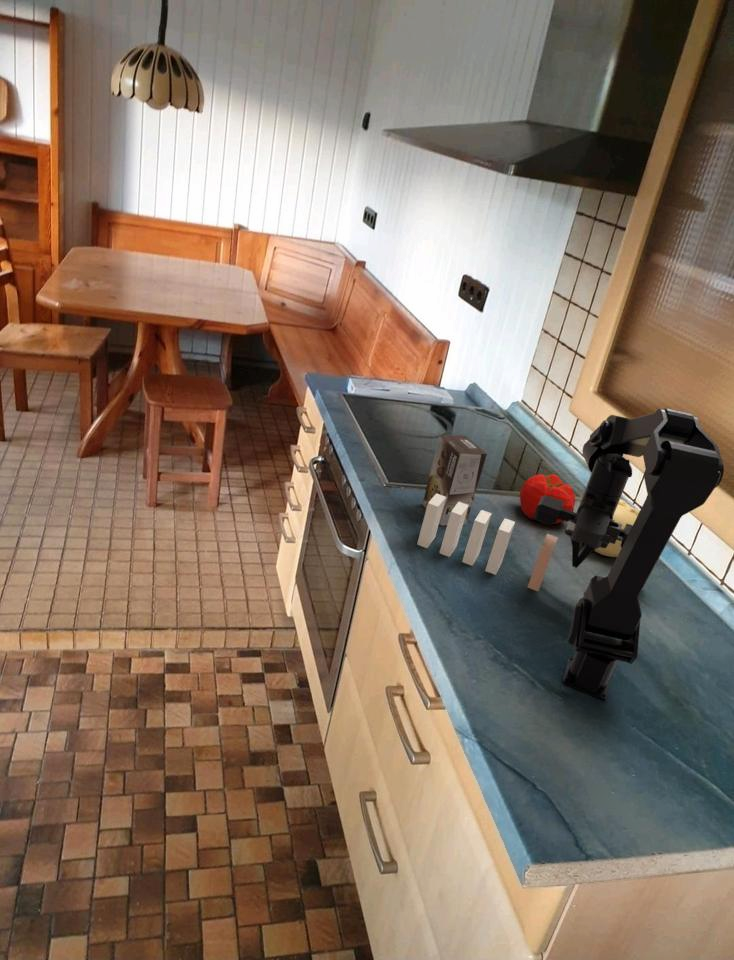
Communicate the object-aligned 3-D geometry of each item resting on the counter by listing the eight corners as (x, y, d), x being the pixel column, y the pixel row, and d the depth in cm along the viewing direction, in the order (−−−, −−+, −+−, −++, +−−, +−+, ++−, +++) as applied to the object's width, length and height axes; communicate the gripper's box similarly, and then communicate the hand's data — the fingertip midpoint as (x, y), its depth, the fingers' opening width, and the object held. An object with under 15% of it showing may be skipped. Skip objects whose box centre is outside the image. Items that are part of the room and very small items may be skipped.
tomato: (560, 536, 146) (574, 499, 142) (507, 514, 150) (519, 477, 146) (573, 519, 155) (586, 483, 151) (522, 498, 159) (533, 463, 155)
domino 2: (449, 557, 130) (461, 515, 126) (439, 553, 130) (451, 511, 126) (456, 545, 134) (468, 505, 130) (447, 542, 134) (458, 501, 131)
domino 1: (426, 548, 131) (438, 506, 127) (417, 544, 131) (428, 502, 128) (435, 537, 135) (446, 496, 131) (425, 533, 136) (436, 493, 132)
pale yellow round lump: (630, 544, 149) (649, 500, 144) (630, 570, 139) (650, 524, 134) (577, 526, 152) (594, 483, 147) (573, 551, 141) (590, 505, 137)
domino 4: (495, 575, 127) (509, 532, 123) (485, 570, 128) (498, 529, 124) (501, 562, 131) (515, 522, 127) (491, 559, 132) (504, 518, 128)
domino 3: (472, 565, 128) (485, 524, 124) (462, 561, 129) (474, 520, 125) (479, 554, 133) (491, 513, 129) (469, 550, 133) (481, 509, 129)
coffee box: (467, 525, 142) (488, 454, 135) (440, 526, 140) (460, 453, 133) (447, 503, 150) (466, 434, 143) (420, 503, 147) (438, 433, 140)
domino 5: (538, 591, 125) (553, 549, 121) (527, 587, 125) (542, 545, 122) (543, 578, 129) (558, 537, 125) (532, 574, 130) (547, 533, 126)
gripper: (541, 486, 112) (514, 567, 119) (660, 527, 107) (624, 609, 114) (553, 464, 122) (527, 540, 128) (662, 501, 117) (629, 577, 123)
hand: (574, 566), depth 123 cm, fingers closed
